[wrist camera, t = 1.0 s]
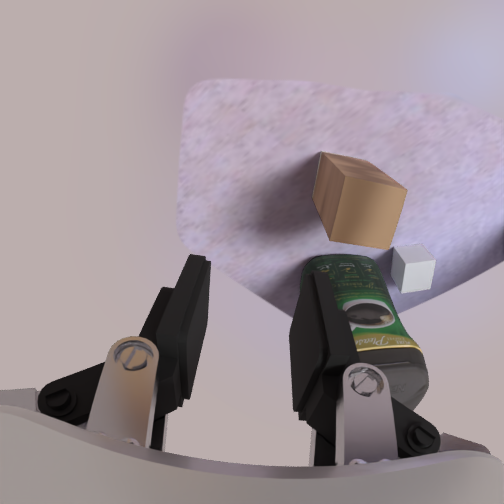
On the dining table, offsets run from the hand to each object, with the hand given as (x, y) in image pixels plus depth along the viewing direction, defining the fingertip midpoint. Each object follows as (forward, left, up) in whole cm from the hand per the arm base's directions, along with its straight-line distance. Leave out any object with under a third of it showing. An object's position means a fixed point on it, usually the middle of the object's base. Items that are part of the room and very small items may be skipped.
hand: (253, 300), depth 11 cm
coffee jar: (-11, +12, -21) cm, 27 cm away
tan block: (-8, 0, -21) cm, 23 cm away
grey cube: (-19, +8, -21) cm, 30 cm away
